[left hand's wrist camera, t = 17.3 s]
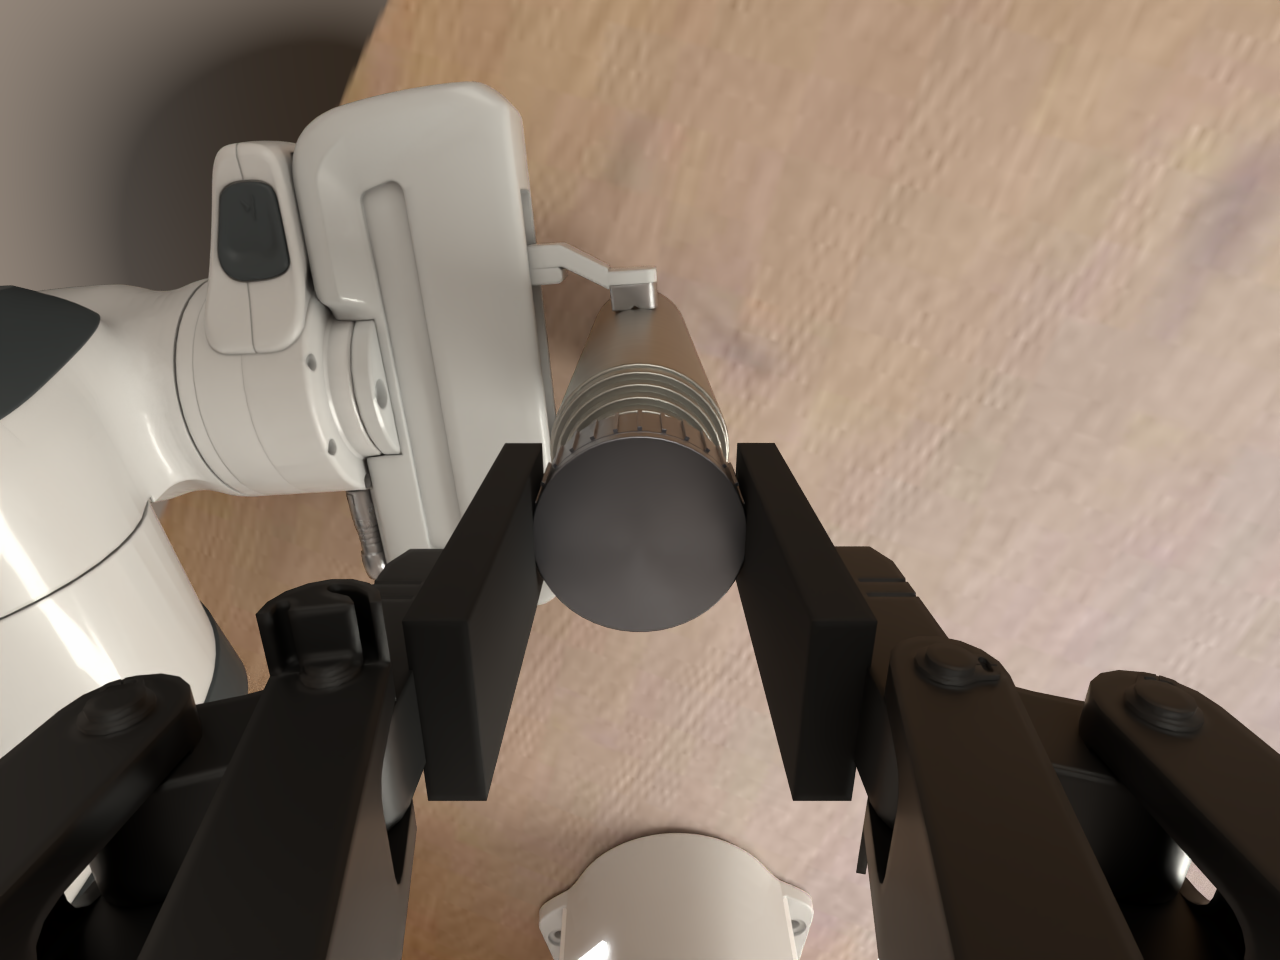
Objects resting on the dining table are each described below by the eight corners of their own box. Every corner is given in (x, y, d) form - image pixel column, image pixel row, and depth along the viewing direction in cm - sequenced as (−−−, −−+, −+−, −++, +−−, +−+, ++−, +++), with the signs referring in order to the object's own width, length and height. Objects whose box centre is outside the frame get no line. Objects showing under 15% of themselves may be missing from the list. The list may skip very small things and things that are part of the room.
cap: (698, 615, 15) (704, 659, 14) (516, 561, 15) (502, 601, 13) (771, 446, 14) (786, 474, 12) (572, 381, 13) (563, 402, 12)
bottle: (573, 330, 33) (472, 512, 13) (646, 268, 32) (657, 363, 12) (633, 401, 35) (624, 666, 15) (705, 343, 34) (804, 542, 13)
